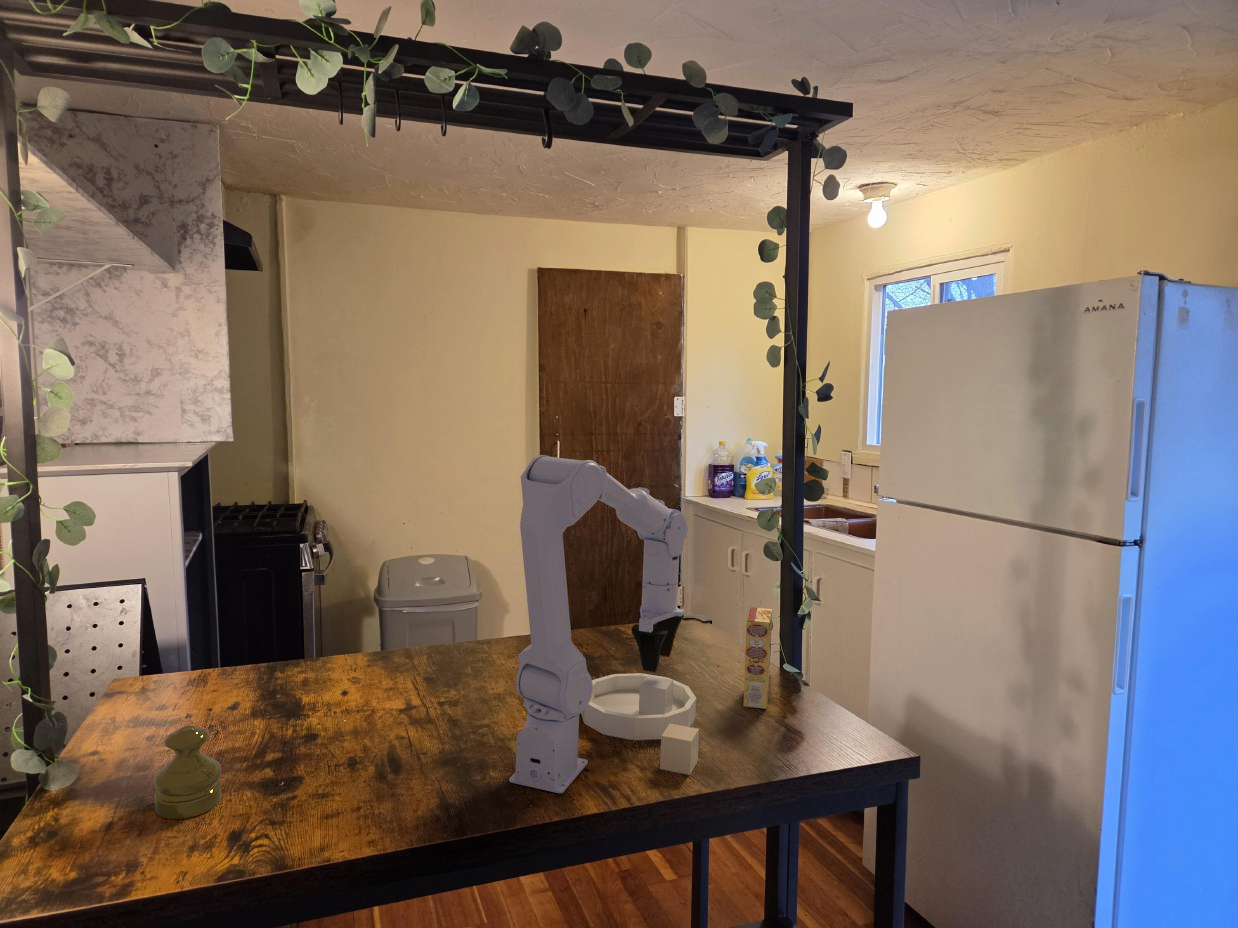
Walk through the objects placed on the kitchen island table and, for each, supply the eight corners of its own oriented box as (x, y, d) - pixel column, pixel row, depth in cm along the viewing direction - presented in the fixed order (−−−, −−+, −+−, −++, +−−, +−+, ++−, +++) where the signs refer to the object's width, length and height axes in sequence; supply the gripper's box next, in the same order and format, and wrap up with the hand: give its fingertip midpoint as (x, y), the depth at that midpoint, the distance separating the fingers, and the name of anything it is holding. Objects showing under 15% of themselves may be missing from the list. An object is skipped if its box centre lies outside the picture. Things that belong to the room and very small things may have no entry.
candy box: (766, 710, 133) (771, 622, 132) (741, 707, 134) (746, 620, 133) (768, 690, 142) (773, 608, 140) (745, 688, 143) (749, 606, 141)
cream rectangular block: (689, 775, 110) (691, 741, 110) (659, 769, 112) (661, 735, 111) (697, 761, 114) (699, 728, 114) (668, 755, 116) (670, 723, 115)
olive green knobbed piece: (142, 821, 94) (140, 741, 93) (171, 789, 102) (170, 715, 101) (207, 820, 95) (205, 741, 94) (231, 788, 102) (230, 715, 101)
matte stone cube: (664, 719, 126) (665, 689, 125) (638, 714, 127) (639, 684, 127) (672, 709, 130) (673, 680, 129) (647, 704, 131) (648, 675, 131)
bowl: (676, 748, 118) (677, 726, 118) (563, 726, 124) (564, 705, 124) (705, 703, 135) (706, 683, 135) (605, 686, 142) (605, 667, 141)
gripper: (671, 594, 118) (667, 681, 120) (695, 574, 132) (691, 652, 133) (627, 589, 121) (624, 674, 122) (655, 569, 134) (652, 646, 136)
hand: (656, 662), depth 128 cm, fingers open, 7 cm apart
